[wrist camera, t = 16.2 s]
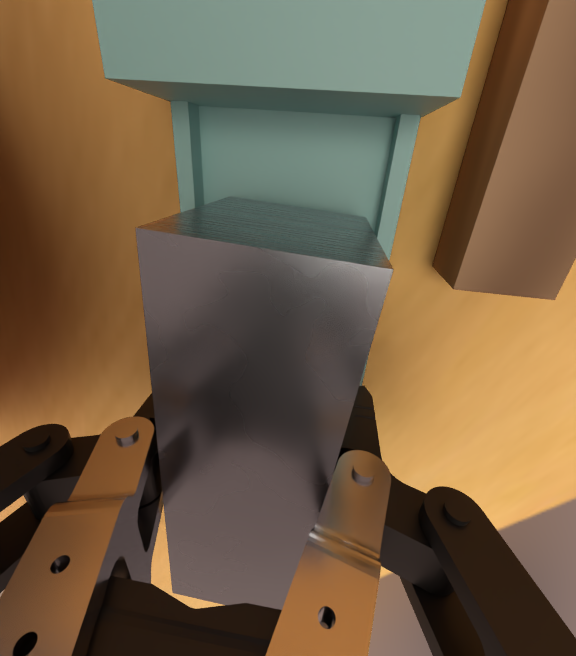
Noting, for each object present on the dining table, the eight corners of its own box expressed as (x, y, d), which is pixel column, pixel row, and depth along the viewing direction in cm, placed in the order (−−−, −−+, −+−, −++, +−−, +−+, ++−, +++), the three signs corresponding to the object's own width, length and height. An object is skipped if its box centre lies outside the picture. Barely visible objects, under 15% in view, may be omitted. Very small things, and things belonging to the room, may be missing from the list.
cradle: (217, 448, 19) (181, 537, 14) (195, 55, 10) (88, -25, 6) (337, 467, 18) (337, 566, 14) (419, 65, 10) (490, -16, 5)
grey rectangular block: (220, 466, 15) (172, 592, 11) (230, 196, 9) (135, 227, 5) (303, 483, 15) (290, 619, 10) (366, 217, 9) (393, 269, 5)
